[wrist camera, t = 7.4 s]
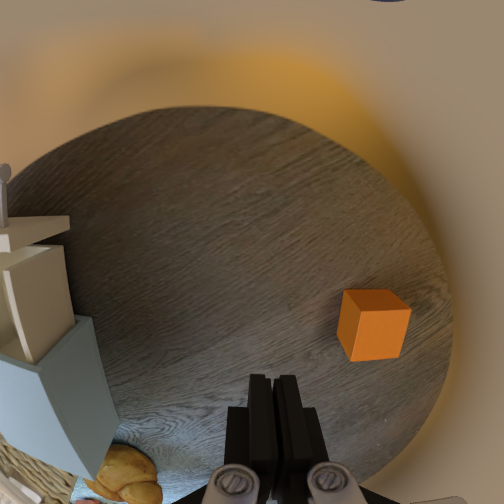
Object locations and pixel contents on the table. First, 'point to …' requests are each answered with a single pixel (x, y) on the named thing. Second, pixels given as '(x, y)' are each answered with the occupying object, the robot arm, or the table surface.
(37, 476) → the basket
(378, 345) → the orange wooden block
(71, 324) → the beige drawer
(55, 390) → the blue drawer cabinet
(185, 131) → the table surface
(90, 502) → the pink cube teapot
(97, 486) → the bread roll
